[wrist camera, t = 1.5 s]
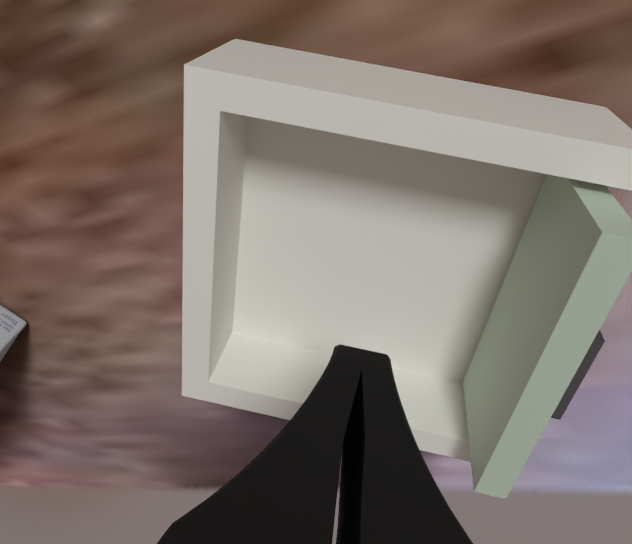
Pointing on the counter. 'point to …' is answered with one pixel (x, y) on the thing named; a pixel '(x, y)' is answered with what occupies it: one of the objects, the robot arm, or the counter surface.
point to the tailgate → (544, 325)
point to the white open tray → (360, 221)
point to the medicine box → (9, 329)
